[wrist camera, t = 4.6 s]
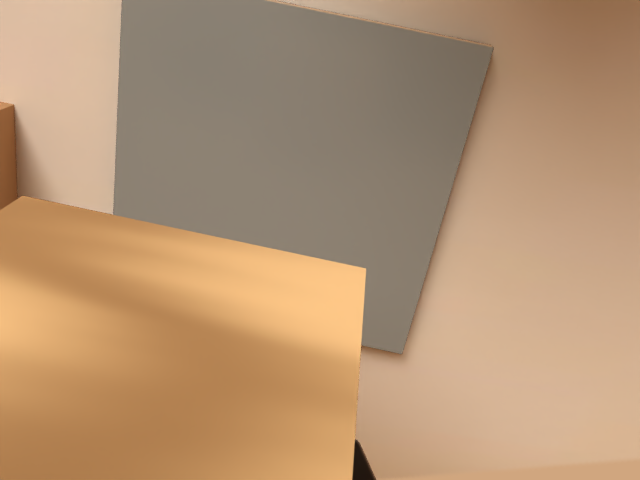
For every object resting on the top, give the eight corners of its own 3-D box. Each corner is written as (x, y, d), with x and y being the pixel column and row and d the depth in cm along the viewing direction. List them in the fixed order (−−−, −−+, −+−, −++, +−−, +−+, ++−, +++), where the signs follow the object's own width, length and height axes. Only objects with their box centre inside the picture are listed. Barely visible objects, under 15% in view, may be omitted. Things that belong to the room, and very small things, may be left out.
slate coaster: (117, 282, 21) (110, 291, 20) (131, -30, 17) (123, -30, 16) (401, 344, 21) (402, 354, 20) (490, 44, 16) (493, 47, 16)
